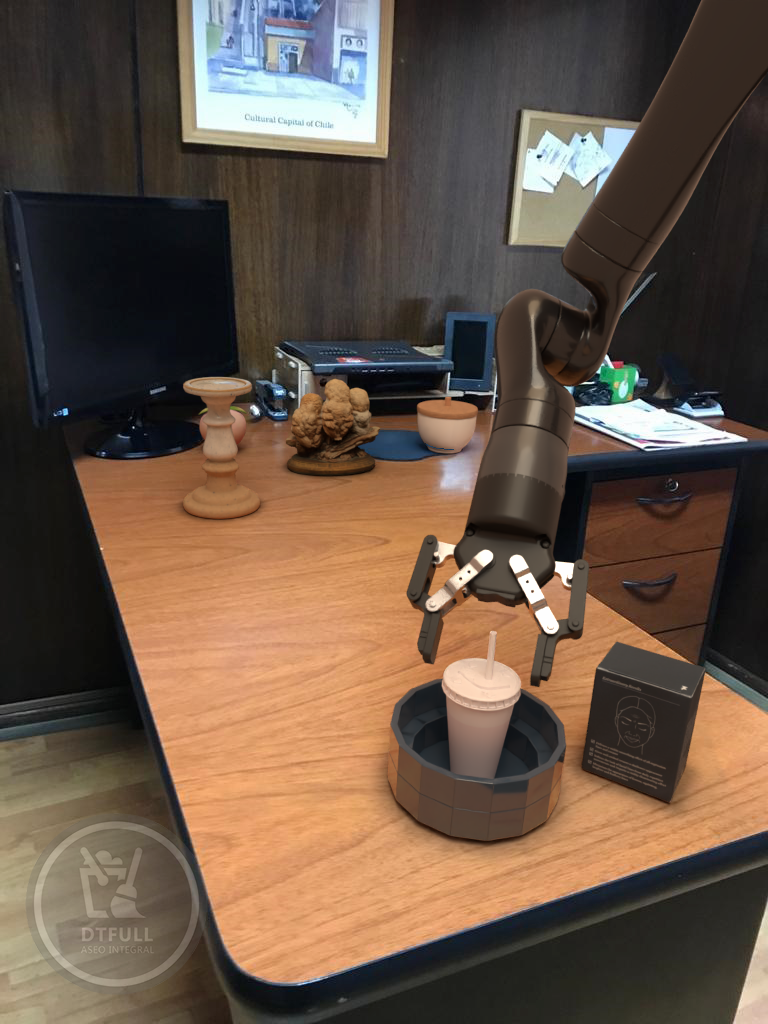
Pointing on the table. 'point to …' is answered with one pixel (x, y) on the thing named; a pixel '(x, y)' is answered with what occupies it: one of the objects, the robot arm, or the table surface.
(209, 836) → the table surface
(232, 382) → the candle holder
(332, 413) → the owl figurine
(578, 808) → the table surface
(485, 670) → the smoothie
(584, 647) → the table surface
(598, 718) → the box
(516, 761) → the bowl
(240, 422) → the decorative fruit
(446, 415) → the lidded bowl
